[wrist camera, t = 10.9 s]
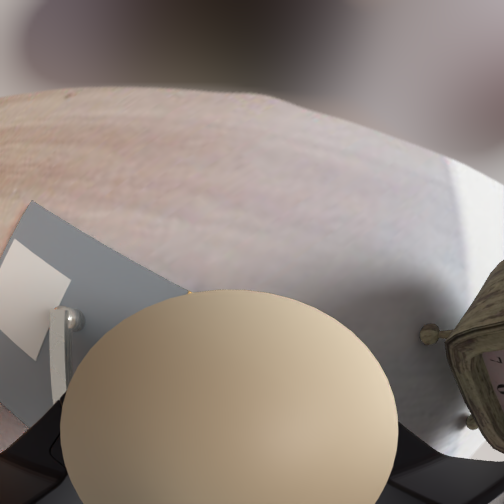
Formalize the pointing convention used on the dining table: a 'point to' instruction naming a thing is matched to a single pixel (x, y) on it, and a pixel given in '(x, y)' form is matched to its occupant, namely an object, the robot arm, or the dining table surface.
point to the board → (61, 302)
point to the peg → (229, 407)
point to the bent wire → (62, 346)
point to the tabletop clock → (479, 358)
